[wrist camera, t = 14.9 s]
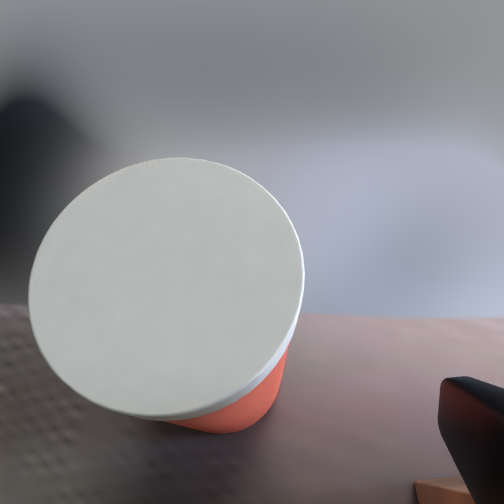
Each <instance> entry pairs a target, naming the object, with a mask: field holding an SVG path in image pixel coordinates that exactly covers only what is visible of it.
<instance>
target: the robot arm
mask: <svg viewBox="0 0 504 504" xmlns="http://www.w3.org/2000/svg"><path fill="white" fill-rule="evenodd" d="M438 425H439V430H440V433H441V436H442V438H443V440H444V442H445V444H446V446H447V448H448V450H449V452H450V454H451V456H452V458H453V460H454V462H455V464H456V466H457V468H458V470H459V472H460V474H461V476H462V478H463V480H464V482H465V484H466V487H467V489H468V491H469V493H470V495H471V497H472V499H473V501H474V503H475V504H504V389H503V388H500V387H497V386H495V385H492V384H489V383H486V382H483V381H480V380H477V379H474V378H471V377H466V376H463V377H452V378H445V379H444V380H443V381H442V383H441V386H440V397H439V409H438Z"/></svg>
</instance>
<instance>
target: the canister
mask: <svg viewBox="0 0 504 504" xmlns="http://www.w3.org/2000/svg"><path fill="white" fill-rule="evenodd" d="M304 275H305V270H304V261H303V254H302V250H301V246H300V242H299V238H298V236H297V233H296V231H295V229H294V226H293V224H292V222H291V221H290V219H289V217H288V215H287V214H286V212H285V210H284V209H283V208H282V207H281V205H280V204H279V203H278V202H277V200H276V199H275V198H274V197H273V196H272V195H271V194H270V193H269V192H268V191H267V190H266V189H265V188H264V187H262V186H261V185H260V184H258V183H257V182H256V181H254V180H253V179H252V178H250V177H248V176H246V175H244V174H243V173H241V172H239V171H237V170H235V169H232V168H230V167H227V166H225V165H222V164H219V163H215V162H212V161H207V160H200V159H195V158H164V159H157V160H150V161H145V162H142V163H139V164H134V165H131V166H128V167H126V168H123V169H121V170H118V171H116V172H114V173H112V174H110V175H108V176H106V177H104V178H102V179H101V180H99V181H97V182H96V183H94V184H93V185H91V186H90V187H88V188H87V189H86V190H85V191H83V192H82V193H81V194H79V195H78V196H77V197H76V198H75V199H74V200H73V201H72V202H71V203H70V204H69V205H68V206H67V207H66V208H65V209H64V210H63V211H62V212H61V213H60V215H59V216H58V217H57V219H56V220H55V221H54V222H53V224H52V225H51V227H50V229H49V230H48V232H47V234H46V235H45V237H44V238H43V241H42V243H41V245H40V247H39V249H38V251H37V254H36V257H35V260H34V263H33V266H32V270H31V275H30V281H29V289H28V308H29V318H30V323H31V327H32V331H33V335H34V338H35V341H36V343H37V345H38V348H39V350H40V352H41V354H42V356H43V358H44V359H45V361H46V362H47V364H48V366H49V367H50V369H51V370H52V371H53V372H54V373H55V375H56V376H57V377H58V378H59V379H60V380H61V381H62V383H64V384H65V385H66V386H67V387H69V388H70V389H71V390H72V391H73V392H75V393H76V394H77V395H79V396H80V397H82V398H84V399H85V400H87V401H89V402H90V403H92V404H94V405H97V406H99V407H101V408H104V409H106V410H109V411H112V412H116V413H120V414H124V415H128V416H132V417H137V418H141V419H146V420H157V421H165V422H169V423H172V424H176V425H180V426H184V427H188V428H192V429H196V430H200V431H204V432H208V433H213V434H229V433H234V432H238V431H240V430H243V429H245V428H247V427H249V426H251V425H253V424H254V423H256V422H257V421H258V420H259V419H260V418H262V417H263V416H264V415H265V413H266V412H267V411H268V410H269V409H270V407H271V405H272V404H273V402H274V400H275V398H276V396H277V393H278V390H279V387H280V383H281V378H282V374H283V370H284V365H285V361H286V356H287V352H288V348H289V343H290V340H291V338H292V335H293V332H294V329H295V326H296V323H297V320H298V316H299V312H300V308H301V303H302V297H303V291H304Z"/></svg>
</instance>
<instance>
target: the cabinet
mask: <svg viewBox="0 0 504 504" xmlns="http://www.w3.org/2000/svg"><path fill="white" fill-rule="evenodd" d="M415 488H416V492H417V497H418V502H419V504H475V503H474V501H473V499H472V497H471V495H470V493H469V491H468V489H467V487H466V484H465V482H464V480H463V478H462V476H459V477H449V478H438V479H428V480H417V481H415Z"/></svg>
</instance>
